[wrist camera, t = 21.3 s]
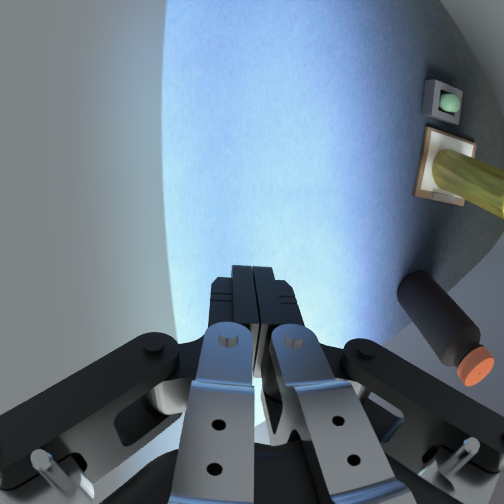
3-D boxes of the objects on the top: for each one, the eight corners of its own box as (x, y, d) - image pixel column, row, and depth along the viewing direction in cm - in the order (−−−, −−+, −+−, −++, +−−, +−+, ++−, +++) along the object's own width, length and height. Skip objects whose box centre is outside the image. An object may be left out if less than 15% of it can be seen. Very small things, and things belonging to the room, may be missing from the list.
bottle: (437, 277, 46) (507, 354, 28) (415, 309, 48) (474, 392, 30) (411, 264, 44) (485, 347, 26) (388, 300, 47) (449, 390, 29)
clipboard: (425, 126, 35) (431, 127, 34) (474, 143, 36) (479, 144, 35) (412, 195, 39) (417, 198, 38) (460, 204, 40) (466, 207, 39)
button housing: (425, 79, 32) (435, 79, 30) (451, 90, 33) (462, 91, 31) (421, 114, 34) (431, 115, 32) (448, 123, 35) (458, 125, 33)
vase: (464, 151, 36) (534, 176, 23) (459, 191, 39) (524, 227, 26) (433, 146, 36) (506, 171, 23) (429, 189, 38) (495, 227, 26)
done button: (433, 91, 32) (447, 91, 30) (446, 96, 33) (460, 97, 30) (432, 107, 34) (445, 109, 31) (444, 112, 34) (458, 114, 31)
